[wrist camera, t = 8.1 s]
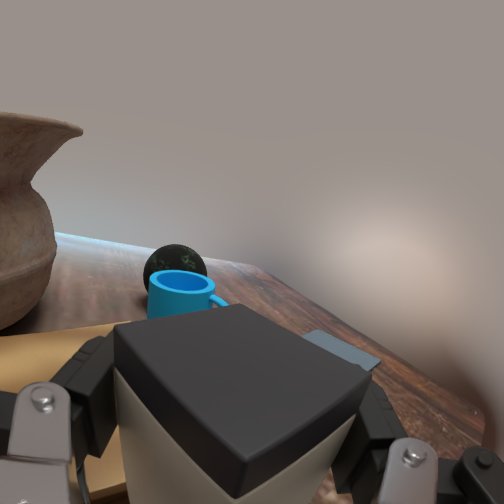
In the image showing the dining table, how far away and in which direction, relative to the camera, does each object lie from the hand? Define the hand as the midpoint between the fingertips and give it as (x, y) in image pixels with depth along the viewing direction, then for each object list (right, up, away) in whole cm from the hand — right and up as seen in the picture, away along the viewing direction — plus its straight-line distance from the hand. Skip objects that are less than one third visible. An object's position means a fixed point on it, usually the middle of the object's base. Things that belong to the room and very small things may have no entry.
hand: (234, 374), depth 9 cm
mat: (+12, -11, +34) cm, 37 cm away
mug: (-8, -8, +31) cm, 33 cm away
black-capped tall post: (-2, -14, +1) cm, 14 cm away
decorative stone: (-12, -5, +41) cm, 43 cm away
